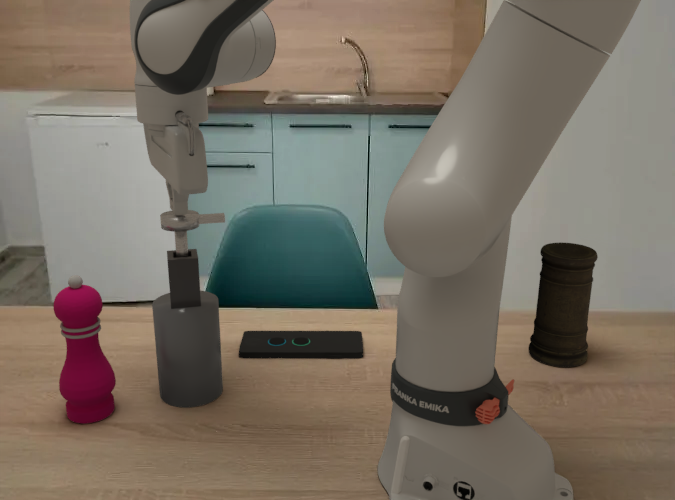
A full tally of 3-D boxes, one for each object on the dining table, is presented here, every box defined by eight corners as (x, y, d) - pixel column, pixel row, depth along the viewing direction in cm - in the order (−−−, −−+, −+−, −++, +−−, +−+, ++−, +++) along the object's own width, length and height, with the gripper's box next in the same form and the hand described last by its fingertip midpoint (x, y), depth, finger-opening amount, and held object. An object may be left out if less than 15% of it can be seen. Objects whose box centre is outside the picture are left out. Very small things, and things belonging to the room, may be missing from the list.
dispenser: (220, 372, 106) (213, 242, 99) (225, 403, 98) (218, 262, 91) (159, 379, 104) (148, 246, 97) (160, 411, 96) (147, 268, 89)
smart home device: (244, 329, 118) (361, 329, 118) (244, 338, 119) (361, 338, 119) (237, 351, 110) (363, 352, 110) (238, 361, 111) (363, 361, 111)
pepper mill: (126, 399, 99) (113, 267, 92) (105, 427, 92) (89, 286, 85) (77, 396, 99) (61, 264, 93) (53, 424, 92) (33, 284, 86)
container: (598, 362, 110) (613, 255, 104) (552, 372, 107) (564, 262, 101) (561, 339, 118) (573, 238, 112) (517, 347, 115) (527, 244, 109)
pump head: (225, 265, 99) (222, 207, 96) (228, 277, 94) (226, 216, 91) (164, 270, 97) (160, 210, 94) (165, 283, 92) (160, 220, 89)
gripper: (218, 116, 80) (223, 230, 85) (180, 97, 98) (186, 193, 102) (162, 118, 78) (171, 236, 82) (134, 99, 95) (142, 197, 100)
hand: (179, 212), depth 92 cm, fingers closed
